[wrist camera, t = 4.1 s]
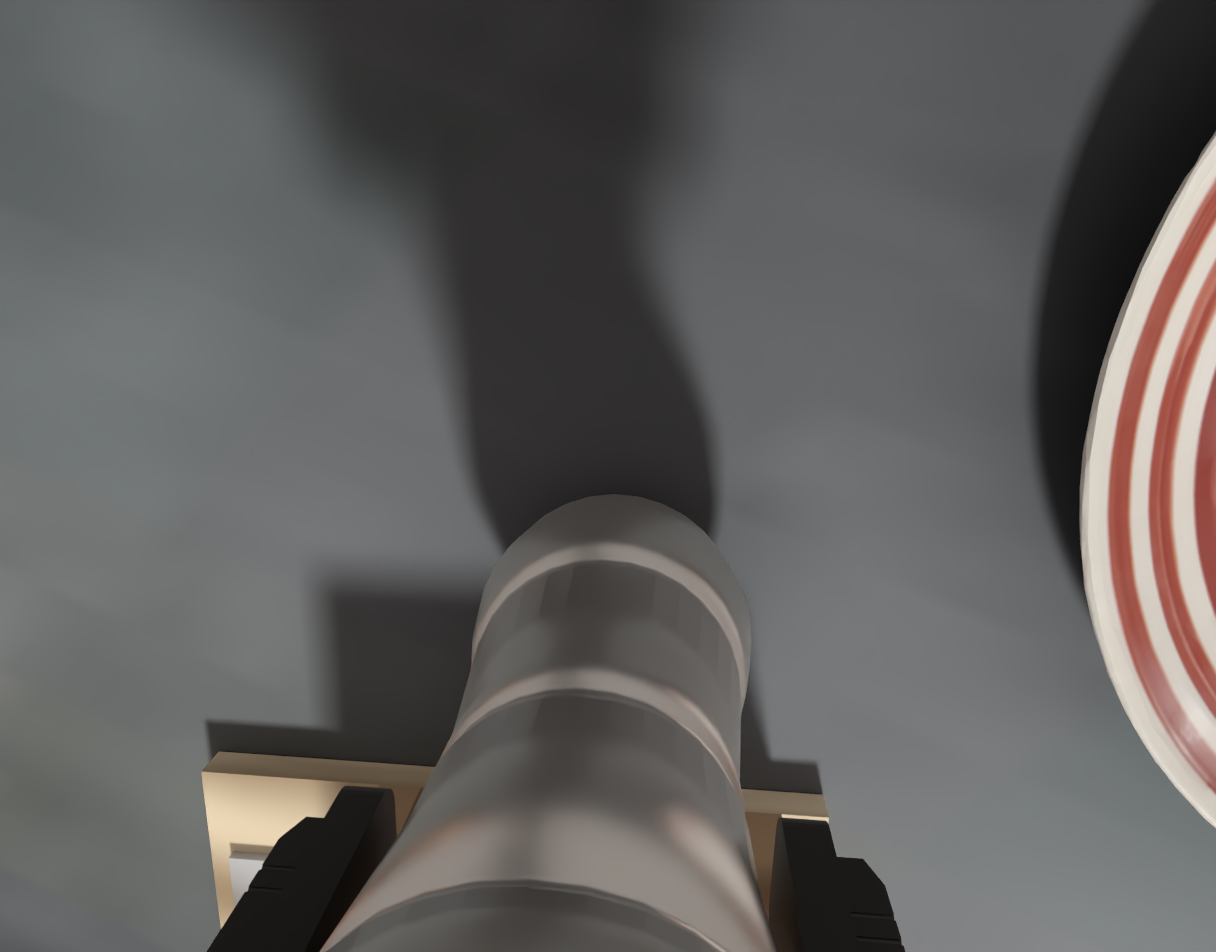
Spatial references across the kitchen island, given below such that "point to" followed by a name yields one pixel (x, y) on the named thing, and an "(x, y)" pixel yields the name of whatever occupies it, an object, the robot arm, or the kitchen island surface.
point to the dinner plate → (1161, 494)
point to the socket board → (306, 787)
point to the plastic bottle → (586, 757)
